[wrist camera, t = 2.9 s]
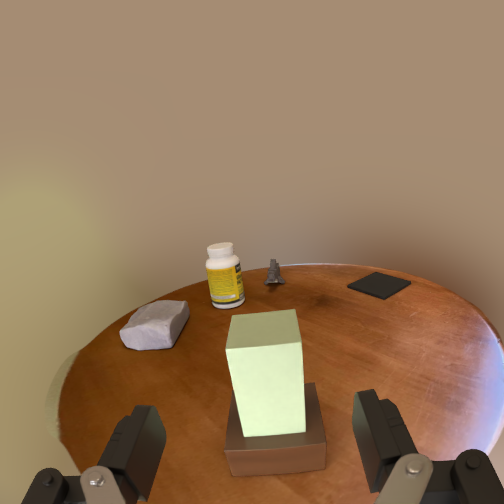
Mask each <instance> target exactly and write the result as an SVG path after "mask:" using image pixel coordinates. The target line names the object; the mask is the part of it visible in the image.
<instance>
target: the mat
mask: <svg viewBox="0 0 504 504" xmlns="http://www.w3.org/2000/svg"><path fill="white" fill-rule="evenodd" d="M410 284H411V281H407V280H404V279H400V278H397V277H393V276H389V275H386V274H382V273H378V272H375V273H372V274H370V275H368V276H366V277H364V278H362V279H360V280H357V281H355V282H353V283H351V284H349V285H348V288H351V289H354V290H357V291H360V292H363V293H366V294H369V295H372V296H375V297H378V298H381V299H384V300H385V299H386V298H388V297H390V296H392V295H393V294H395V293H397V292H398V291H400V290H401V289H403V288H405V287H406V286H408V285H410Z"/></svg>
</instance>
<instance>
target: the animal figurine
mask: <svg viewBox="0 0 504 504" xmlns="http://www.w3.org/2000/svg"><path fill="white" fill-rule="evenodd" d="M272 282H280V283H282V284H284V283H285V281H284V280H283V278H282V277H281V276H280V268H279V265H278V263H276V260H275V259H271V261H270V268H269V269H268V279H267V280H266V281H265V282H264V284H265V285H266V284H268V283H272Z"/></svg>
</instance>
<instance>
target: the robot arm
mask: <svg viewBox="0 0 504 504" xmlns="http://www.w3.org/2000/svg"><path fill="white" fill-rule="evenodd" d="M352 425H353V431H354V435H355V438H356V442H357V445H358V449H359V452H360V456H361V460H362V463H363V467H364V470H365V474H366V478H367V481H368V485H369V489H370V493H374V492H379V496H378V497H377V499H376V501H375V502H374V504H504V488H503V486H502V484H501V482H500V480H499V478H498V476H497V474H496V472H495V470H494V468H493V466H492V464H491V462H490V460H489V458H488V456H487V455H486V454H485V453H484V452H482V451H480V450H477V449H470V450H466V451H464V452H462V453H461V454H460V455H459V456H458V457H457V458H456V460H449V461H431V460H430V459H429V458H428V457H426V456H425V455H422V454H419V453H418V451H417V449H416V447H415V445H414V443H413V440H412V438H411V436H410V434H409V432H408V430H407V427H406V425H405V424H404V421H403V419H402V417H401V415H400V412H399V410H398V408H397V406H396V405H395V404H394V403H392V402H391V401H390V400H389V399H383V400H379V399H378V396H377V394H376V392H375V390H374V389H370V390H365V391H360V392H355V396H354V406H353V416H352ZM165 444H166V431H165V428H164V426H163V424H162V421H161V419H160V416H159V414H158V411H157V409H156V407H155V406H149V405H136V406H135V408H134V410H133V412H132V414H131V416H125V417H124V418H123V419H122V420H121V421H120V422H118V424H117V426H116V428H115V430H114V434H112V436H111V438H110V441H109V442H108V444H107V446H106V448H105V450H104V452H103V454H102V456H101V458H100V460H99V462H98V464H97V466H93V467H90V468H88V469H87V470H85V471H84V472H83V474H82V475H81V476H63V475H62V474H61V473H60V472H59V471H58V470H57V469H54V468H46V469H43V470H41V471H40V472H38V473H37V475H36V476H35V478H34V480H33V482H32V484H31V486H30V488H29V489H28V492H27V493H26V496H25V497H24V499H23V501H22V503H21V504H136V503H137V500H140V501H146V502H147V501H148V497H149V494H150V491H151V488H152V485H153V481H154V478H155V475H156V472H157V469H158V466H159V463H160V459H161V456H162V453H163V450H164V447H165Z"/></svg>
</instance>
